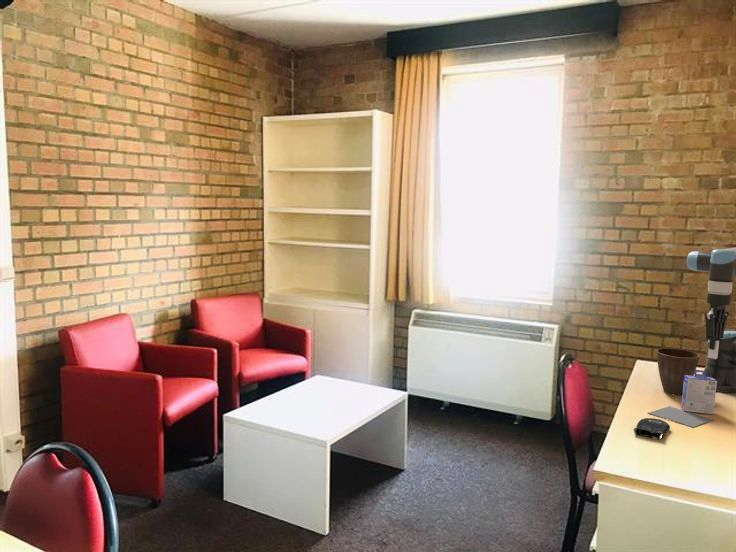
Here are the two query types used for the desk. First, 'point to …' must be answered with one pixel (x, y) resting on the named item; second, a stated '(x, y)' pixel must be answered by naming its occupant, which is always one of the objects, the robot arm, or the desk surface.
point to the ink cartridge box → (699, 393)
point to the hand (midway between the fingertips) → (712, 357)
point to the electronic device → (652, 426)
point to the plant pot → (675, 368)
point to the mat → (681, 416)
